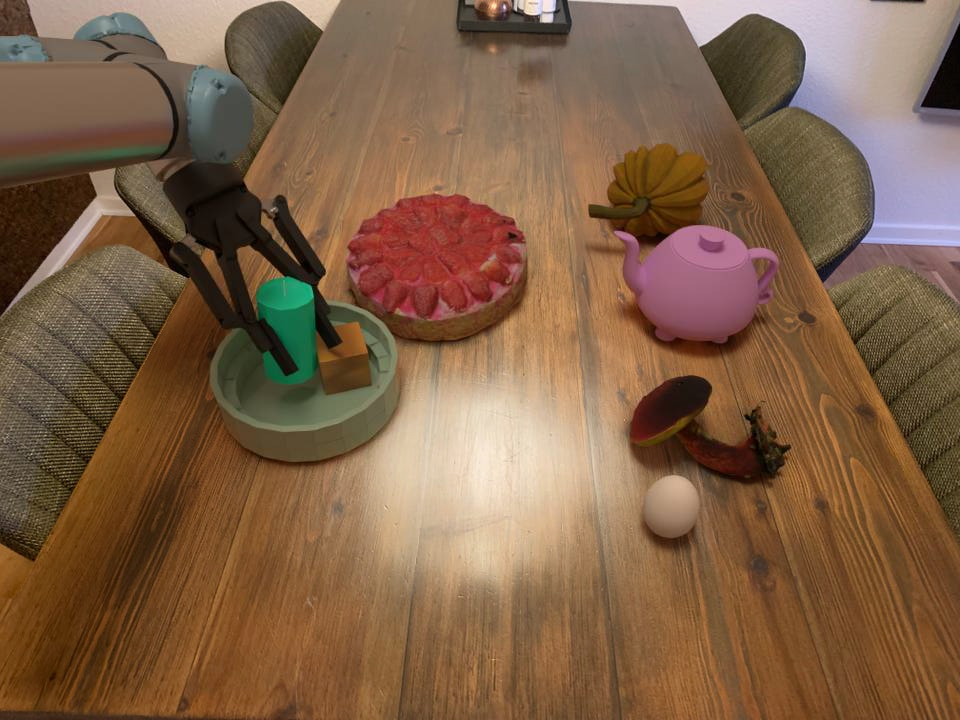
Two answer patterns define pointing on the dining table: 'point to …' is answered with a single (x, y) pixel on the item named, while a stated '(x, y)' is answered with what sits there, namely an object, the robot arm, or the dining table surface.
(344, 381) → the block
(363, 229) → the cake
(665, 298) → the teapot
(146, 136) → the robot arm
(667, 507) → the egg
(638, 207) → the fruit
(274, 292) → the candle
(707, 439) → the mushroom
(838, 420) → the dining table surface
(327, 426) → the bowl
